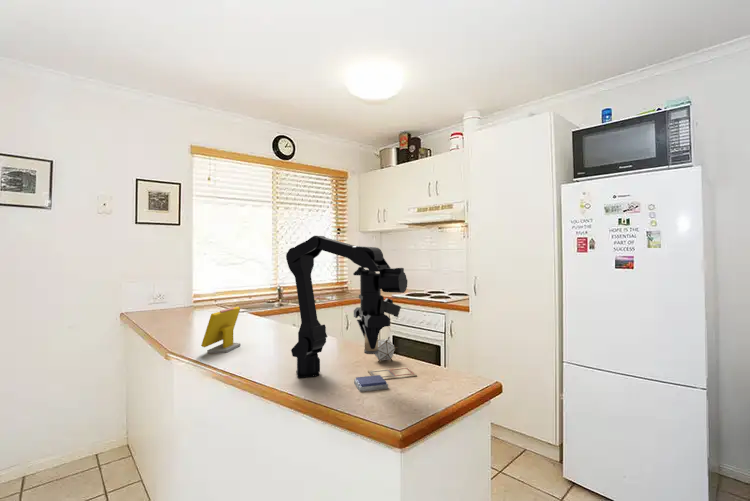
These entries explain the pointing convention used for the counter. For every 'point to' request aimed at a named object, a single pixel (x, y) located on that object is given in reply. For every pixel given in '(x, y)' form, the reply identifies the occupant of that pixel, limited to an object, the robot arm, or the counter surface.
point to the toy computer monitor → (221, 330)
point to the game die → (385, 350)
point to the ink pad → (370, 383)
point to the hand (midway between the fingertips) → (371, 346)
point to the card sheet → (393, 373)
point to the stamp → (368, 349)
